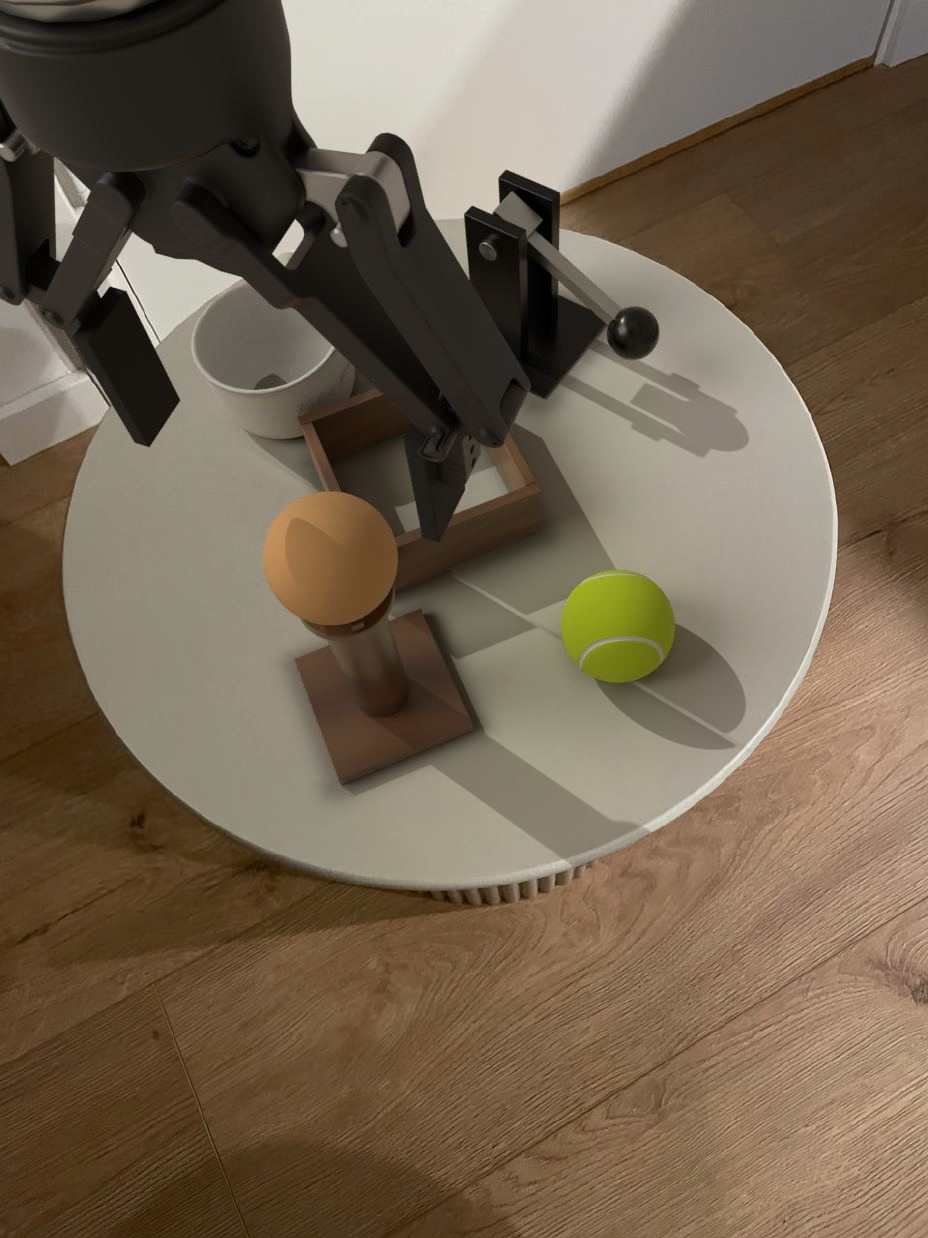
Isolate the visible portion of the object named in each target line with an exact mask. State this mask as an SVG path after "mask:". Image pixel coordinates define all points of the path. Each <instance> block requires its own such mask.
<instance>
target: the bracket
mask: <svg viewBox="0 0 928 1238" xmlns="http://www.w3.org/2000/svg"><path fill="white" fill-rule="evenodd" d="M497 182H498V205H499V204H500V203H501V202H502V201H503V200H504V199H505V198H506V197H507V196H508V195H509V194H510V192H512V191H513V192H514V193H515V194H516V195H517V196H518V197H519V198H521V199H522V200H523V201H524V202H525V203H526V204H527V205H528V206H529V207H530V208H532V209H533V210H534V211H535V212H536V213H537V214H538V215H539V216H540V217H541V218H542V219H543V221H542V222H541V224H540V225H539V227H538V228H537V230H536V231H537V232H538V233H539V234H540V235H541V236H542V237H543V238H545V239H546V240H547V241H548V242H549V243H550V244H551V245H552V246H553V247H554V248H556V249H557V250H558V251H559V252H560V229H561V228H560V227H561V226H560V225H561V223H560V221H561V219H560V218H561V192H560V191H557V190H556V189H553V188H551V187H548V186H546V185H544V184H541V183H539V182H537V181H535V180H532V179H529V178H527V177H525V176H523V175H521V174H518V173H515V172H513V171H511V170H509V169H504V171H503V172H501V174H500V175H499V176H498V178H497ZM463 221H464V233H465V243H466V256H467V257H466V258H467V268H468V279H469V280H470V282H471V284H472V285H473V287H474V289H475V290H476V292H477V294H478V295H479V297H480V299H481V300H482V302H483V304H484V305H485V307H486V309H487V310H488V312H489V314H490V315H491V317H492V319H493V320H494V322H495V324H496V325H497V327H498V329H499V330H500V332H501V334H502V336H503V337H504V339H505V341H506V342H507V344H508V346H509V347H510V349H511V351H512V352H513V354H514V356H515V357H516V359H517V361H518V362H519V364H520V366H521V367H522V369H523V371H524V372H525V374H526V376H527V377H528V379H529V381H530V384H531V386H530V390H529V392H528V393H531V394H532V395H535V396H536V397H539V398H541V399H543V400H544V399H545V398H546V397H547V396H548V394H549V393H551V391H552V390H553V389H554V388H555V386H556V385H557V384H558V383H559V381H560V380H561V379H562V377H564V375H565V374H566V373H567V372H568V371H569V369H570V368H571V367H572V365H573V364H574V363H575V362H576V361H577V360H578V358H579V357H580V355H582V353H583V352H584V351H585V349H586V348H587V347H588V346H589V345H590V344H591V342H593V340H594V339H595V337H596V336H597V335H598V334H599V333H600V331H601V330H602V329H603V328H604V327H605V325H607V324H606V323H605V322H604V321H602V320H601V319H600V318H599V317H598V316H597V315H596V314H595V313H594V312H593V311H591V310H590V309H589V308H588V307H587V306H585V305H582V304H580V303H577V302H575V301H573V300H571V299H569V298H567V297H564V296H563V295H561V294H559V281H558V280H557V279H556V278H555V277H554V276H553V275H552V274H550V273H549V272H548V271H547V270H546V269H545V268H544V267H543V266H542V265H540V264H539V263H538V262H537V261H536V260H535V259H534V258H533V257H532V256H531V255H529V254H528V253H527V232H526V229H524V228H522V227H519V226H517V225H515V224H513V223H510V222H508V221H506V220H504V219H501V218H499V217H497V216H495V215H493V214H492V213H491V212H488V211H486V210H483V209H481V208H479V207H477V206H475V205H470V207H469V208H468V209H467V210H466V211H465V212H464V214H463Z"/></svg>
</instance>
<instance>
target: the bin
mask: <svg viewBox="0 0 928 1238" xmlns="http://www.w3.org/2000/svg"><path fill="white" fill-rule="evenodd" d="M297 418H298V421H299V424H300V427H301V430H302V433H303V436H302V437H303V438H304V442H305V444H306V447H307V450H308V452H309V456H310V458H311V462H312V464H313V466H314V468H315V470H316V473H317V475H318V477H319V480H320V483H321V484H322V487H323V489H324V492H326V491H330V492H343V491H342V488H341V486H340V483H339V481H338V479H337V477H336V475H335V472H334V470H333V468H332V466H331V463H330V462H331V461H334V460H337V459H340V458H342V457H345V456H347V455H351V454H353V453H355V452H358V451H361V450H363V449H364V450H365V449H366V448H369V447H371V446H375V445H377V444H379V443H382V442H385V441H388V440H391V439H394V438H395V437H398V436H401V435H403V434H404V435H405V434H406V432H407V430H408V428H409V426H410V424H411V421H410V420H409V419H408V418H407V417H406V416H405V415H404V414H403V413H402V412H401V411H400V410H399V409H397V408H396V407H395V406H394V405H393V404H392V403H391V402H390V401H389V400H388V399H387V398H386V397H385V396H384V395H383V394H382V393H381V392H380V391H379V390H378V389H377V388H376V387H374V388H373V389H370V390H367V391H364V392H361V393H359V394H356V395H353V396H351V397H350V396H349V398H348V399H345V400H342V401H340V402H337V403H334V404H331V405H329V406H326V407H323V408H321V409H318V410H315V411H313V412H310V413H307V414H304V415H302V416H299V417H297ZM484 449H485V450H486V452H487V454H488V455H489V457H490V460H491V461H492V463H493V465H494V467H495V469H496V470H497V473H498V474H499V476H500V478H501V480H502V482H503V484H504V486H505V488H506V490H507V491H508V493H505V494H503V495H500V496H497V497H494V498H492V499H489V500H487V501H483V502H482V503H479V504H476V505H473V506H471V507H469V508H466V509H464V510H461V511H459V512H456V513H454V514H453V516H452V518H451V520H450V522H449V524H448V526H447V528H446V530H445V532H444V534H443V536H442V538H441V540H440V542H436V541H433V540H430V539H427V538H424V537H422V533H421V528H420V527H417V528H415V529H412V530H410V531H407V532H405V533H402V534H400V535H397V536H394V538H395V541H396V546H397V552H398V565H397V573H396V576H395V580H394V582H393V584H394V589H395V595H396V594H400V593H401V592H404V591H406V590H409V589H411V588H414V587H417V586H419V585H421V584H424V583H426V582H429V581H431V580H435V579H437V578H439V577H442V576H444V575H447V574H449V573H452V572H453V571H452V570H450V569H449V568H451V567H454V566H456V565H458V564H462V563H464V562H467V561H468V560H471V559H474V558H476V557H479V556H481V555H484V554H486V553H490V552H492V551H494V550H496V549H498V548H502V547H504V546H507V545H509V544H512V543H514V542H517V541H519V540H522V539H525V538H527V537H529V536H532V535H536V534H537V533H539V532H542V530H543V492H542V491H543V490H542V488H541V487H540V485H539V483H538V482H537V480H536V478H535V476H534V475H533V473H532V471H531V469H530V467H529V465H528V464H527V462H526V459H525V458H524V456H523V454H522V452H521V451H520V449H519V446H518V445H517V443H516V441H515V439H514V438H513V436H512V434H511V431H510V432H509V434H508V436H507V438H506V440H505V442H504V444H503V445H502V446H501V447H498V448H490V447H487V446H484Z"/></svg>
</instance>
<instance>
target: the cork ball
mask: <svg viewBox="0 0 928 1238" xmlns="http://www.w3.org/2000/svg"><path fill="white" fill-rule="evenodd" d="M394 537H395V536H394V533H393V530H392V528H391V526H390V525H389V523H388V521H387V520H386V519H385V518H384V516H383V514H382V513H380V511H378V509H376V508H375V507H374V506H373V505H372V504H370V503H368V501H366V500H364V499H363V498H360V497H358V496H355V495H353V494H351V493H346V492H343V491H342V492H330V491H326V492H325V491H318V492H313V493H310V494H307V495H304V496H302V497H300V498H298V499H296V500H294V501H293V502H291V503H290V504H288V505H287V506H286V507H285V508H284V509H283V510H282V511H281V512H280V513H279V514H278V515H277V516H276V517H275V519H274V520H273V522H272V523H271V525H270V527H269V529H268V531H267V534H266V537H265V540H264V545H263V550H262V564H263V565H262V566H263V572H264V576H265V579H266V582H267V584H268V586H269V589H270V591H271V593H272V594H273V595H274V596H275V599H277V601H278V602H279V603H280V604H281V606H283V607H284V608H285V609H286V610H287V611H289V612H290V613H291V614H293V615H294V616H296V617H297V618H299V619H300V618H301V619H304V620H306V621H308V622H312V623H315V624H321V625H342V624H347V623H350V622H353V621H356V620H358V619H361V618H363V617H364V616H366V615H368V614H369V613H370V612H372V611H373V610H374V609H376V608H377V607H378V606H379V605H380V604H381V603H382V601H383V600H384V599H385V598H386V596H387V595H388V593H389V591H390V589H391V587H392V585H393V582H394V580H395V576H396V573H397V565H398V552H397V546H396V541H395V538H394ZM301 619H300V620H301Z"/></svg>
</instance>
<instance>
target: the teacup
mask: <svg viewBox="0 0 928 1238" xmlns="http://www.w3.org/2000/svg"><path fill="white" fill-rule="evenodd" d="M293 253H294V252H292V251H288V252H281V253H279V254H278V255H277V256H276V258H277V259H278V260H279V261H280V262H281V263H282V264H283V265H284V266H286V264H287V263H288V261H289V260H290V258H291V256H292V255H293ZM190 343H191V345H190V346H191V356H192V360H193V362H194V365H195V366H196V368H197V370H198V371H199V372H200V374H201V375H202V377H203V378H205V380H206V382H207V383H208V386H209V387H210V389H211V391H212V393H213V395H214V396H215V398H216V399H217V401H218V402H219V404H220V406H221V407H222V409H223V410H224V411H225V413H226V414H227V415H228V416H229V418H230V419H231V420H232V421H234V423H236V424H237V425H238V426H240V427H241V428H242V429H244V430H245V431H247V432H249V433H251V434H253V435H256V436H258V437H262V438H267V439H272V440H288V439H289V440H290V439H294V438H299V437H304V436H303V433H302V430H301V427H300V424H299V421H298V418H297V417H299V416H302V415H304V414H307V413H310V412H313V411H315V410H318V409H321V408H323V407H326V406H329V405H331V404H334V403H337V402H340V401H342V400H345V399H348V398H350V396H351V394H352V392H353V388H354V385H355V377H356V368H355V367H354V366H353V365H352V364H351V363H350V362H349V361H348V360H347V359H346V358H345V357H344V356H343V355H342V354H341V353H340V352H339V351H338V350H337V349H336V348H335V347H333V346H332V345H331V344H330V343H329V342H328V341H327V340H326V339H325V338H324V337H323V336H322V335H321V334H320V333H319V332H318V331H317V330H316V329H315V328H314V327H313V326H312V325H311V324H310V323H309V322H308V321H307V320H306V319H305V318H304V317H303V316H302V315H300V314H299V313H298V312H297V311H296V310H295V309H293V308H287V309H283V310H280V309H276V308H275V307H273V306H272V305H270V304H269V303H268V302H267V301H266V300H265V299H264V298H263V297H262V296H261V295H260V294H259V293H258V292H257V291H256V290H255V289H254V288H253V287H252V286H250V285H249V284H248V283H247V282H246V281H245V280H244V281H241V282H239V283H237V284H235V285H233V286H231V287H230V288H228V289H227V290H225V291H223V292H222V293H220V294H219V295H218V296H217V297H216V298H214V299H213V300H212V301H211V302H210V304H208V305H207V306H206V307H205V309H204V311H203V312H202V314H201V315H200V316H199V318H198V319H197V322H196V323H195V326H194V329H193V332H192V336H191V341H190ZM270 375H276V376H278V377H279V378H280V379H281V380H283V382H285V383H286V384H282V385H279V386H276V387H270V388H265V389H255V388H256V386H257V385H258V383H259V382H260V381H261V380H263V379H264V378H266V377H267V376H270Z"/></svg>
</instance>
